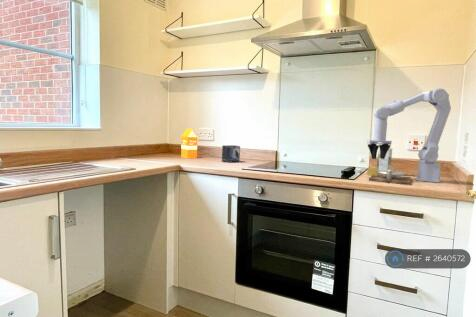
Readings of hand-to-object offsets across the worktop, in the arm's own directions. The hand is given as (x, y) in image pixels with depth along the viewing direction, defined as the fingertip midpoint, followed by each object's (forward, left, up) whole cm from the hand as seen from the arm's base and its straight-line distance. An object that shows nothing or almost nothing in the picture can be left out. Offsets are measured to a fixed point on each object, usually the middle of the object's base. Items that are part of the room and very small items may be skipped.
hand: (378, 158), depth 163 cm
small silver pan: (-4, +5, -8) cm, 11 cm away
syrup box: (-2, -17, -10) cm, 19 cm away
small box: (+88, -4, -10) cm, 89 cm away
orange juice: (+122, -4, -10) cm, 123 cm away
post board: (-7, +5, -9) cm, 13 cm away
